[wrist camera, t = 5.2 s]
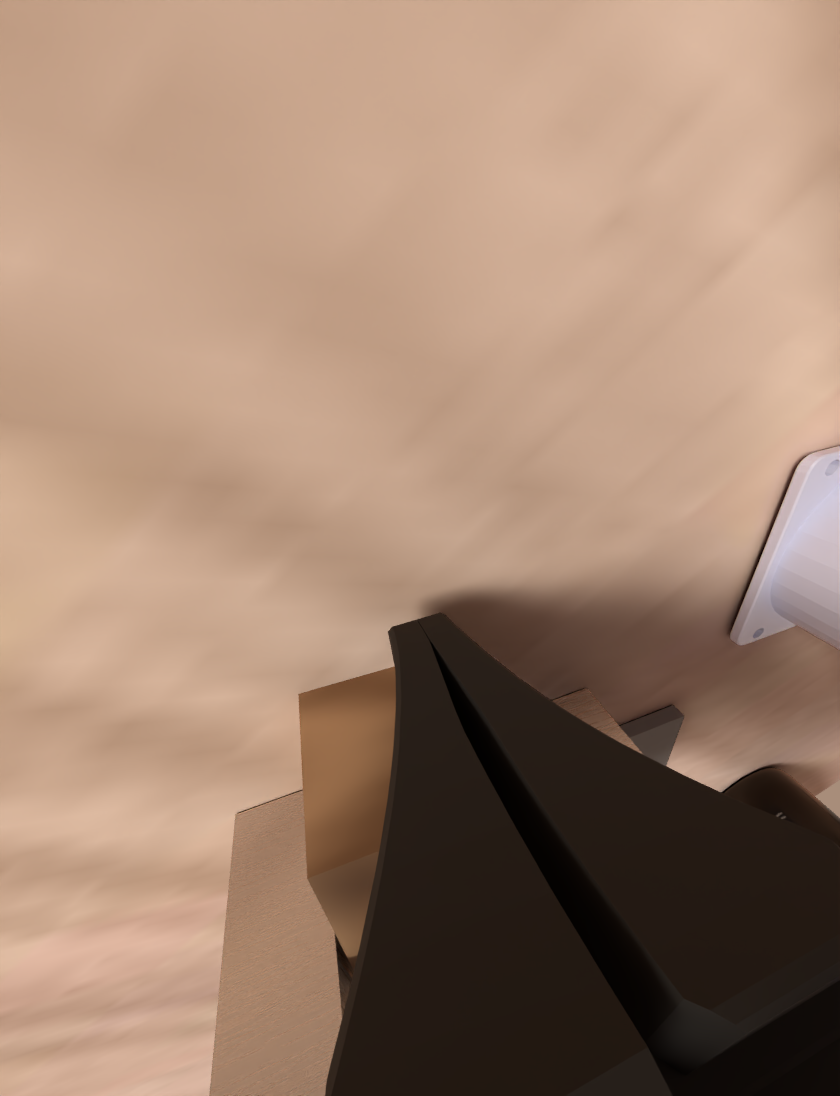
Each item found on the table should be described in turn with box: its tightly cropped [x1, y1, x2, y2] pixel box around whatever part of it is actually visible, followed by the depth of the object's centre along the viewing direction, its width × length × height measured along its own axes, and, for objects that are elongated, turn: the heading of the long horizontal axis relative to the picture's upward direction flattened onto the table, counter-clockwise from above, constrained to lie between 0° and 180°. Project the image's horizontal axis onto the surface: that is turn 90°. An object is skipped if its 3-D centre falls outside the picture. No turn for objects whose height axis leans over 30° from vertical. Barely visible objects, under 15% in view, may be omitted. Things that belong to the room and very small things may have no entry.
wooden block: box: [299, 667, 396, 970], centre depth 13 cm, size 4×14×5 cm, turn 5°
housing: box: [209, 688, 643, 1096], centre depth 12 cm, size 13×3×7 cm, turn 97°
